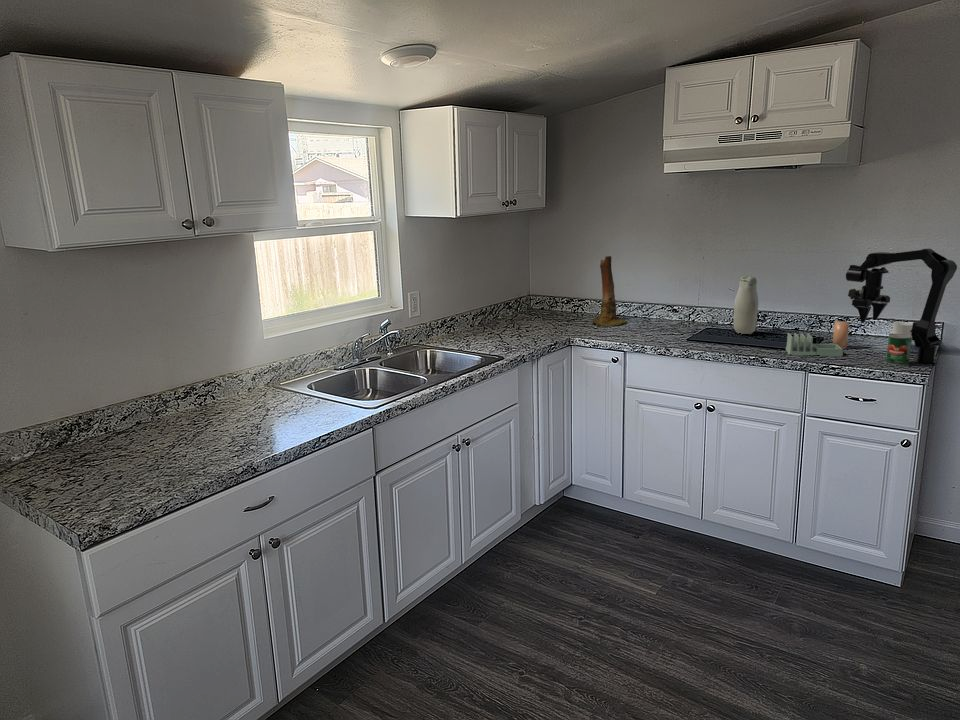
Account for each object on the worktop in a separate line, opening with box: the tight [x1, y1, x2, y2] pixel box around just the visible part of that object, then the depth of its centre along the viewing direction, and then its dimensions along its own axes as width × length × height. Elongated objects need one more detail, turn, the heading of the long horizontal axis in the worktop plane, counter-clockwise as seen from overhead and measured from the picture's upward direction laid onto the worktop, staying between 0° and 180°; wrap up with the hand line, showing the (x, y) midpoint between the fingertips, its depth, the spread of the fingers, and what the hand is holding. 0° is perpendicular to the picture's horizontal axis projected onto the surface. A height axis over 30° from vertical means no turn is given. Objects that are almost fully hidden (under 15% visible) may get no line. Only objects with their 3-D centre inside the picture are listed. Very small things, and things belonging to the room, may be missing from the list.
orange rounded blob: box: [832, 320, 850, 350], centre depth 294 cm, size 6×6×11 cm
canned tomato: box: [885, 333, 913, 367], centre depth 266 cm, size 8×8×11 cm
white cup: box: [892, 321, 913, 336], centre depth 293 cm, size 8×8×10 cm
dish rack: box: [785, 332, 844, 357], centre depth 286 cm, size 10×20×8 cm, turn 76°
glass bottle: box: [732, 274, 759, 335], centre depth 324 cm, size 10×10×28 cm
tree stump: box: [592, 255, 628, 327], centre depth 359 cm, size 20×16×35 cm
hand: (868, 321), depth 284 cm, fingers open, 9 cm apart
